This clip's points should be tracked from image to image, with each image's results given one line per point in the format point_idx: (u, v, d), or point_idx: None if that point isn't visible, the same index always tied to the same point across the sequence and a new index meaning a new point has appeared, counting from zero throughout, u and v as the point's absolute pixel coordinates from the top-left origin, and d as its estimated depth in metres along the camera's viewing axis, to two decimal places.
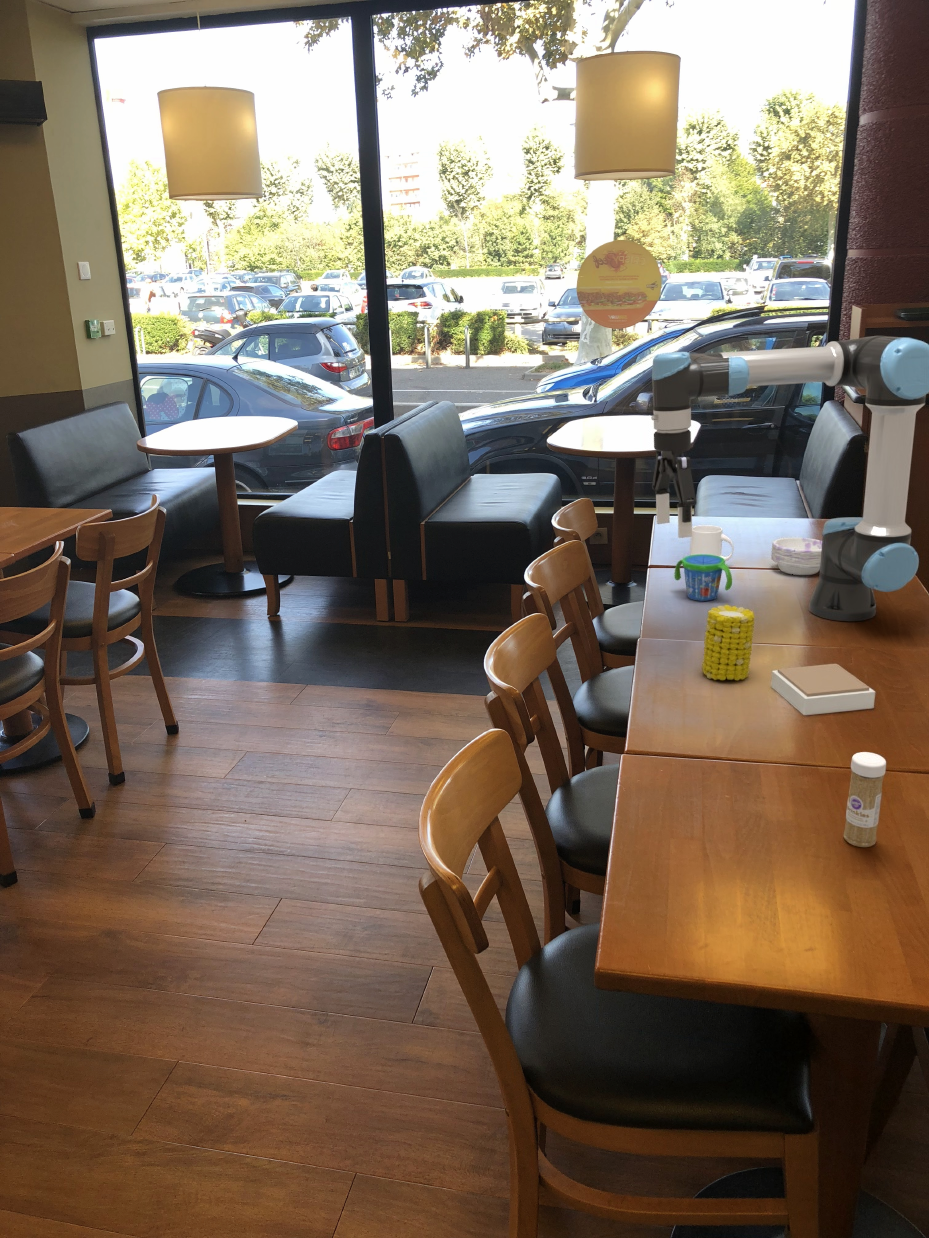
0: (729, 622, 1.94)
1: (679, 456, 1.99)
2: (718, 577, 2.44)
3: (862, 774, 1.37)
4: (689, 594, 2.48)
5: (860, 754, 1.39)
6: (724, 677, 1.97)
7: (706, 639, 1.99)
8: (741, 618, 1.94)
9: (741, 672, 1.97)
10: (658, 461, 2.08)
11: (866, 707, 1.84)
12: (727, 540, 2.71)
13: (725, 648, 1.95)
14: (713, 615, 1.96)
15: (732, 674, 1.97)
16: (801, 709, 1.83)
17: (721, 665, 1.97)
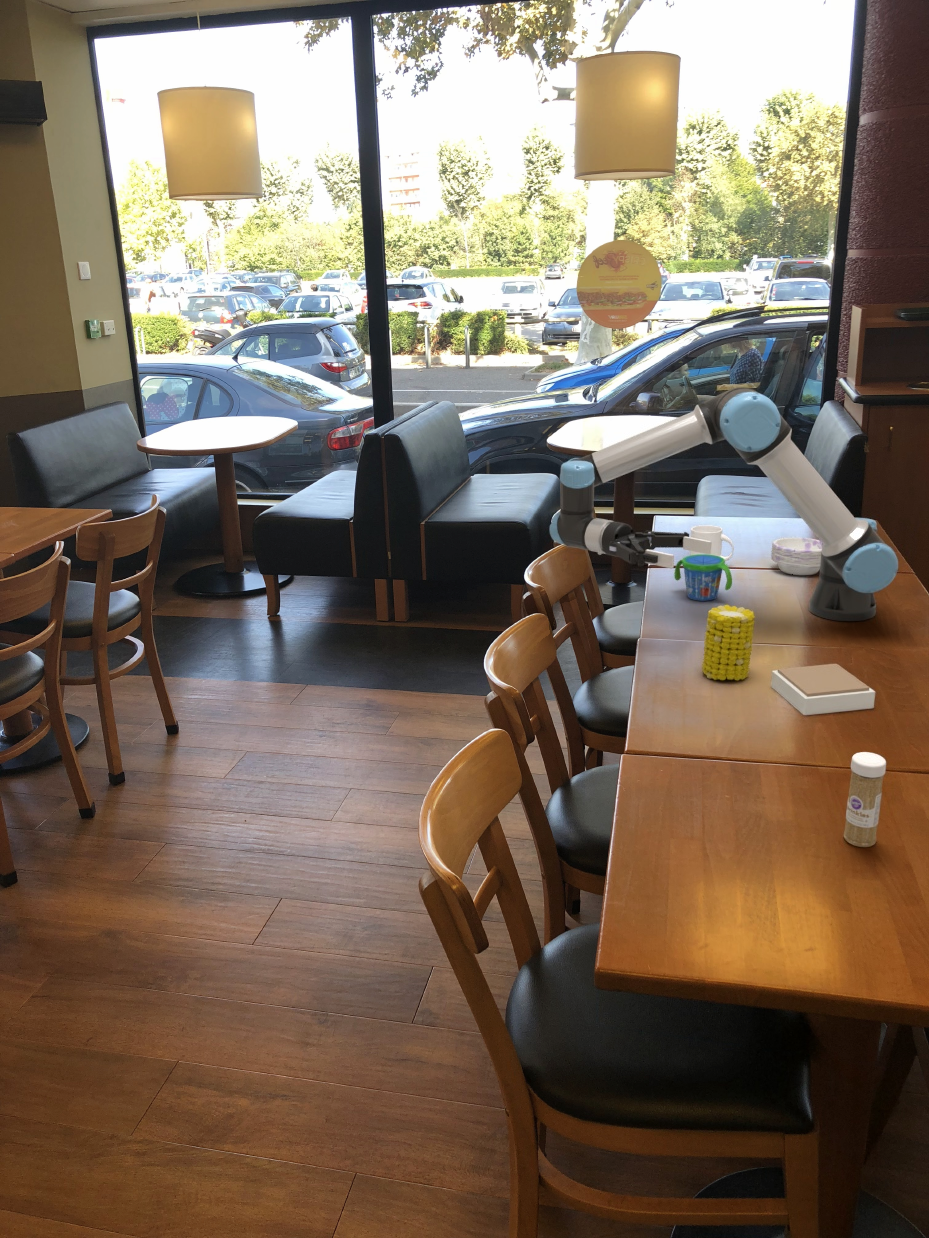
0: (729, 622, 1.94)
1: None
2: (718, 577, 2.44)
3: (862, 774, 1.37)
4: (689, 594, 2.48)
5: (860, 754, 1.39)
6: (724, 677, 1.97)
7: (706, 639, 1.99)
8: (741, 618, 1.94)
9: (741, 672, 1.97)
10: None
11: (866, 707, 1.84)
12: (727, 540, 2.71)
13: (725, 648, 1.95)
14: (713, 615, 1.96)
15: (732, 674, 1.97)
16: (801, 709, 1.83)
17: (721, 665, 1.97)
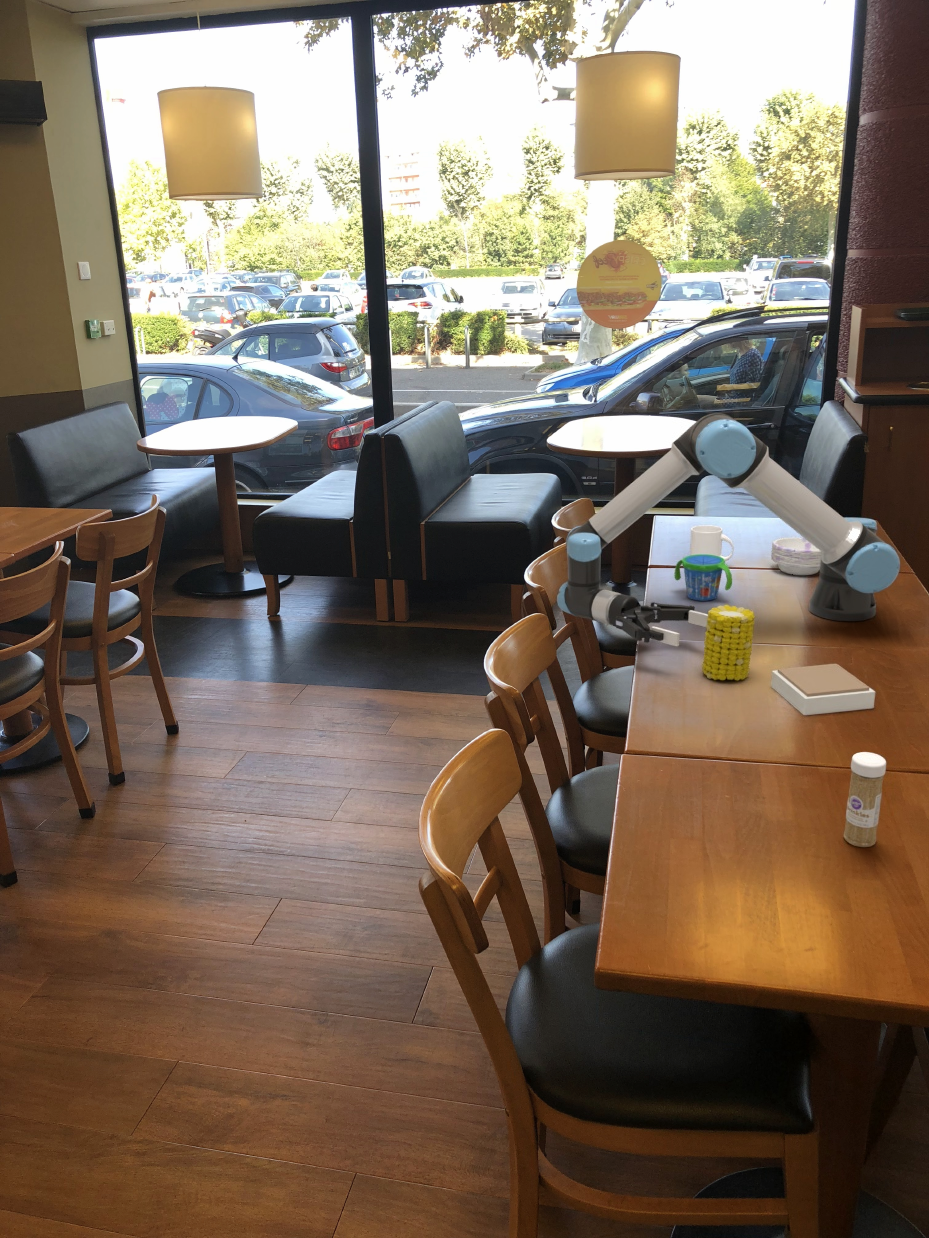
0: (729, 622, 1.94)
1: None
2: (718, 577, 2.44)
3: (862, 774, 1.37)
4: (689, 594, 2.48)
5: (860, 754, 1.39)
6: (724, 677, 1.97)
7: (706, 639, 1.99)
8: (741, 618, 1.94)
9: (741, 672, 1.97)
10: None
11: (866, 707, 1.84)
12: (727, 540, 2.71)
13: (725, 648, 1.95)
14: (713, 615, 1.96)
15: (732, 674, 1.97)
16: (801, 709, 1.83)
17: (721, 665, 1.97)
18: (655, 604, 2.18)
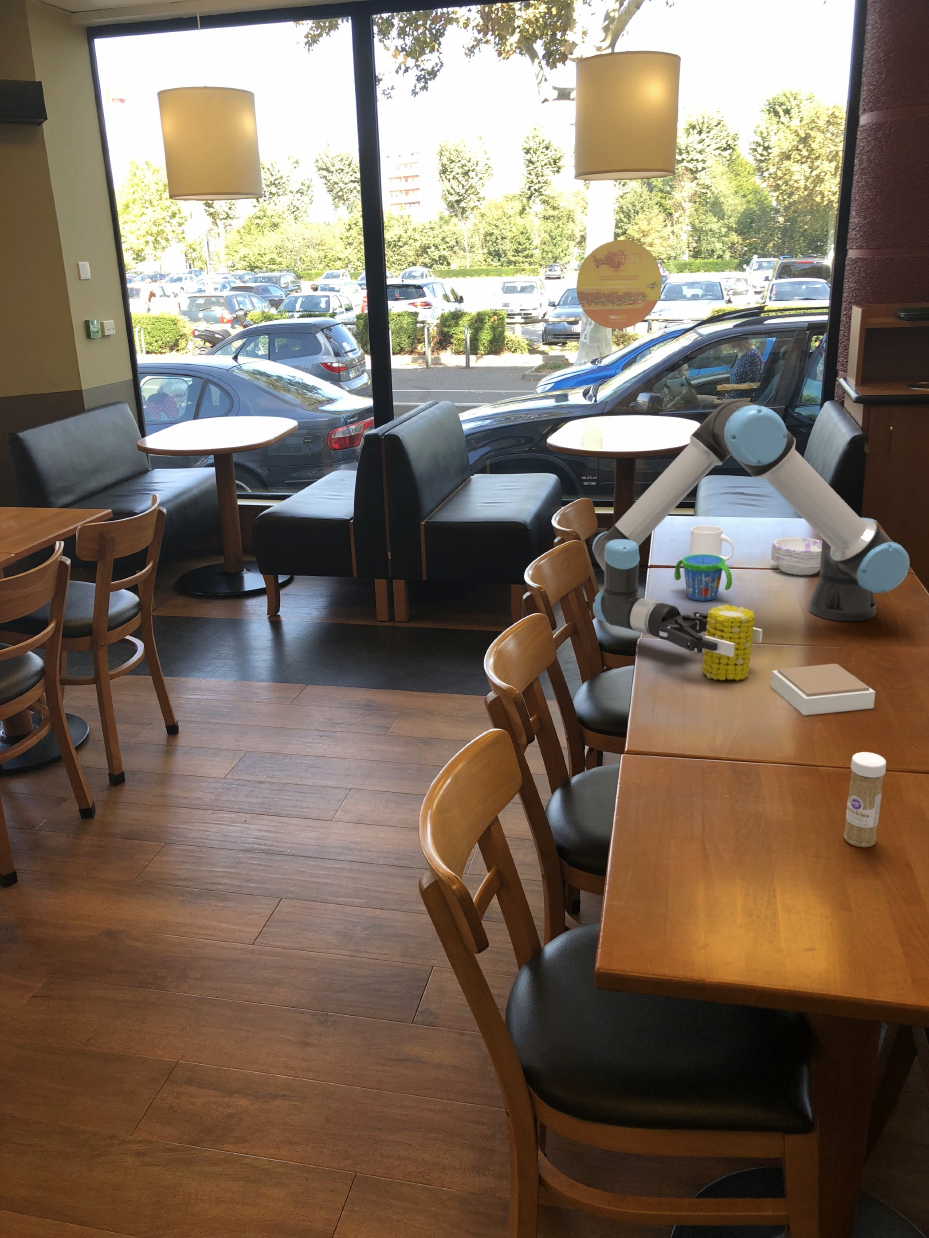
0: (729, 622, 1.94)
1: None
2: (718, 577, 2.44)
3: (862, 774, 1.37)
4: (689, 594, 2.48)
5: (860, 754, 1.39)
6: (724, 677, 1.97)
7: None
8: (741, 618, 1.94)
9: (741, 672, 1.97)
10: None
11: (866, 707, 1.84)
12: (727, 540, 2.71)
13: None
14: (713, 615, 1.96)
15: (732, 674, 1.97)
16: (801, 709, 1.83)
17: (721, 665, 1.97)
18: (698, 614, 2.10)
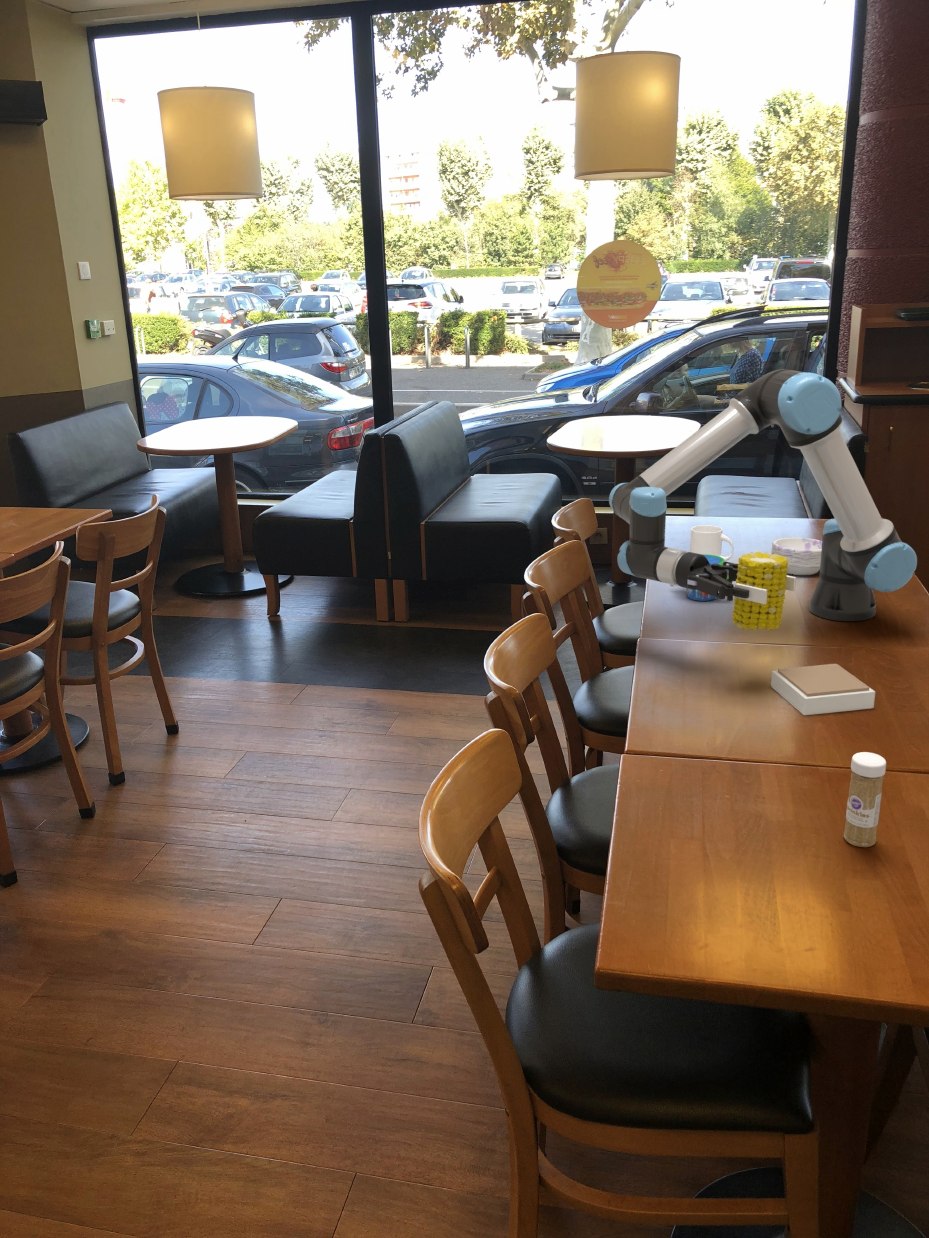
0: (761, 568, 1.85)
1: None
2: None
3: (862, 774, 1.37)
4: (689, 594, 2.48)
5: (860, 754, 1.39)
6: (755, 626, 1.88)
7: None
8: (774, 563, 1.85)
9: (773, 621, 1.88)
10: None
11: (866, 707, 1.84)
12: (727, 540, 2.71)
13: None
14: (744, 561, 1.87)
15: (764, 623, 1.87)
16: (801, 709, 1.83)
17: (752, 614, 1.87)
18: (727, 563, 2.01)
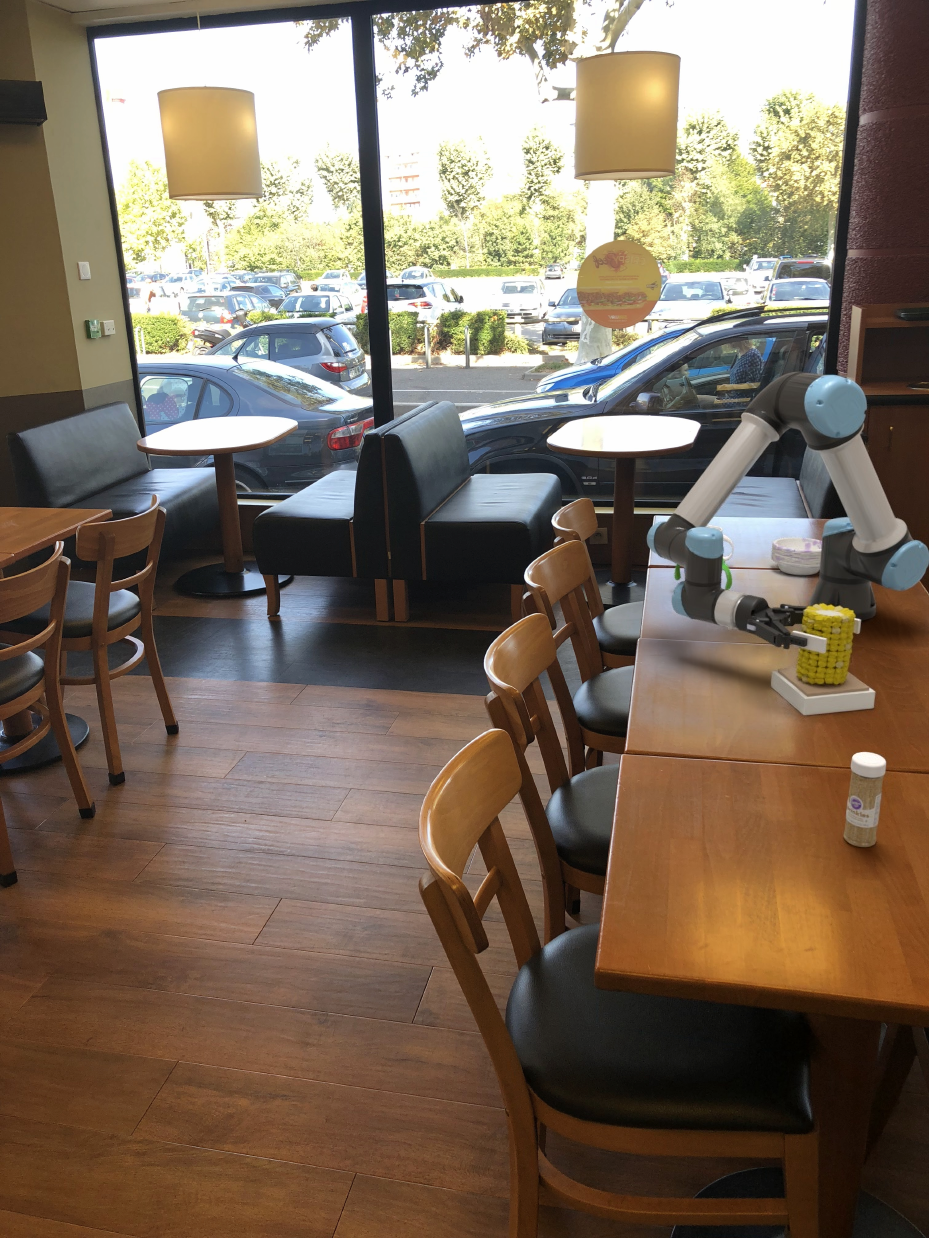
0: (829, 622, 1.81)
1: None
2: None
3: (862, 774, 1.37)
4: None
5: (860, 754, 1.39)
6: (822, 681, 1.83)
7: None
8: (842, 617, 1.80)
9: (840, 675, 1.84)
10: (790, 617, 1.97)
11: (866, 707, 1.84)
12: (727, 540, 2.71)
13: None
14: (811, 614, 1.83)
15: (831, 678, 1.83)
16: (801, 709, 1.83)
17: (819, 668, 1.83)
18: (786, 606, 1.97)
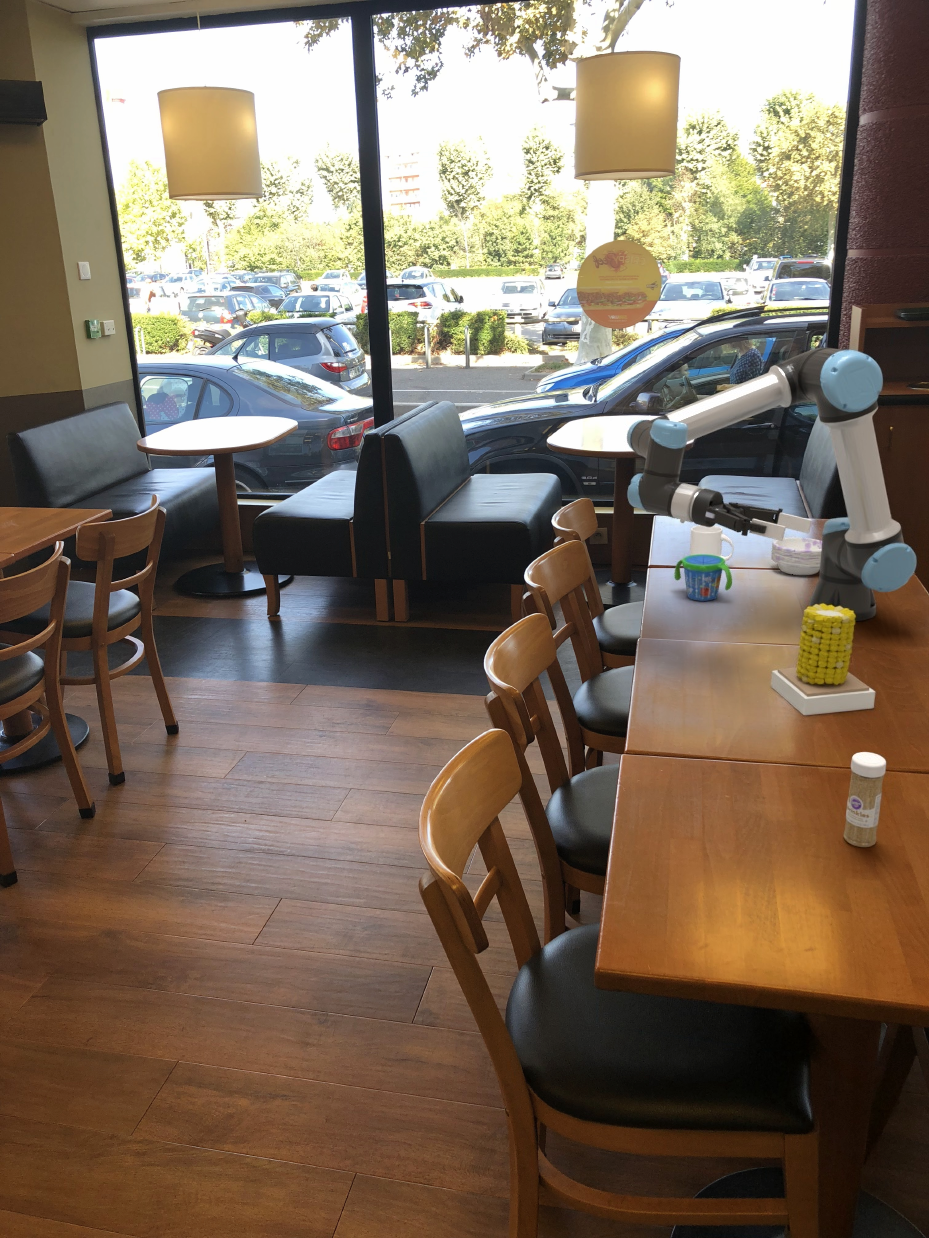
0: (829, 622, 1.80)
1: None
2: (718, 577, 2.44)
3: (862, 774, 1.37)
4: (689, 594, 2.48)
5: (860, 754, 1.39)
6: (822, 681, 1.83)
7: (802, 640, 1.86)
8: (842, 618, 1.80)
9: (840, 676, 1.84)
10: None
11: (866, 707, 1.84)
12: (727, 540, 2.71)
13: (824, 650, 1.82)
14: (811, 614, 1.83)
15: (831, 678, 1.83)
16: (801, 709, 1.83)
17: (819, 668, 1.83)
18: (739, 504, 2.01)
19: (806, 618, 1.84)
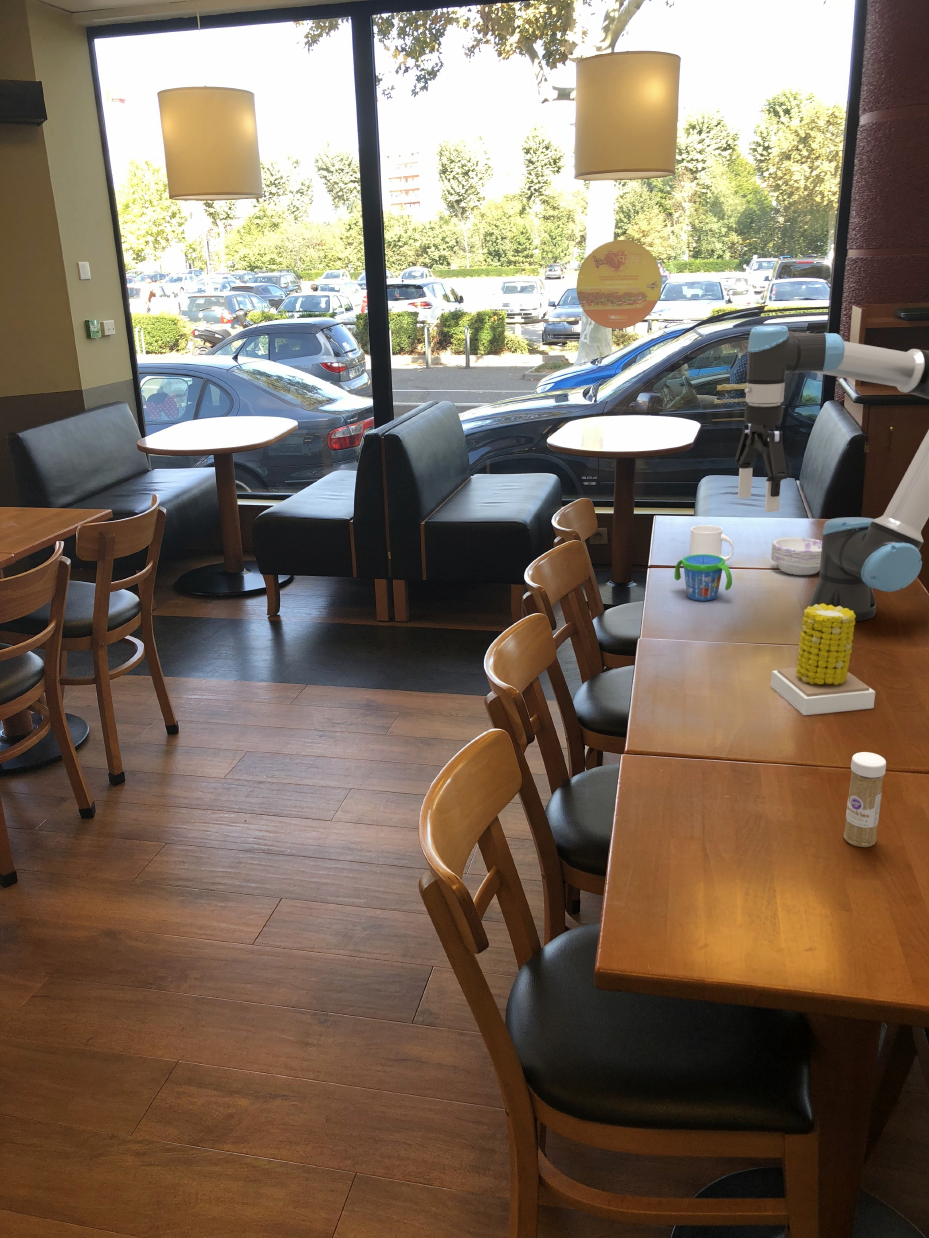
0: (829, 622, 1.80)
1: (771, 430, 1.99)
2: (718, 577, 2.44)
3: (862, 774, 1.37)
4: (689, 594, 2.48)
5: (860, 754, 1.39)
6: (822, 681, 1.83)
7: (802, 640, 1.86)
8: (842, 618, 1.80)
9: (840, 676, 1.84)
10: (745, 435, 2.09)
11: (866, 707, 1.84)
12: (727, 540, 2.71)
13: (824, 650, 1.82)
14: (811, 614, 1.83)
15: (831, 678, 1.83)
16: (801, 709, 1.83)
17: (819, 668, 1.83)
18: None
19: (806, 618, 1.84)
